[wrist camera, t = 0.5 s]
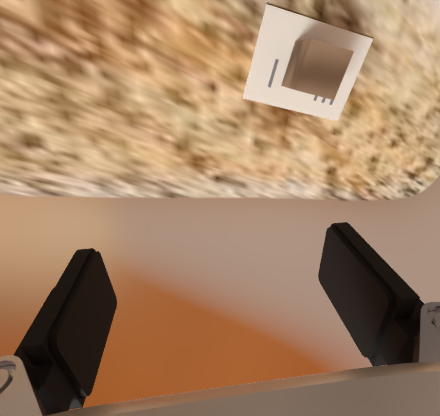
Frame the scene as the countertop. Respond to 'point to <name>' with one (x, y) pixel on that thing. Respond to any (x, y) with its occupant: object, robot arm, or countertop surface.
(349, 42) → the letter
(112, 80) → the countertop surface
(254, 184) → the countertop surface
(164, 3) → the countertop surface
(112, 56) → the countertop surface
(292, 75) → the walnut block
